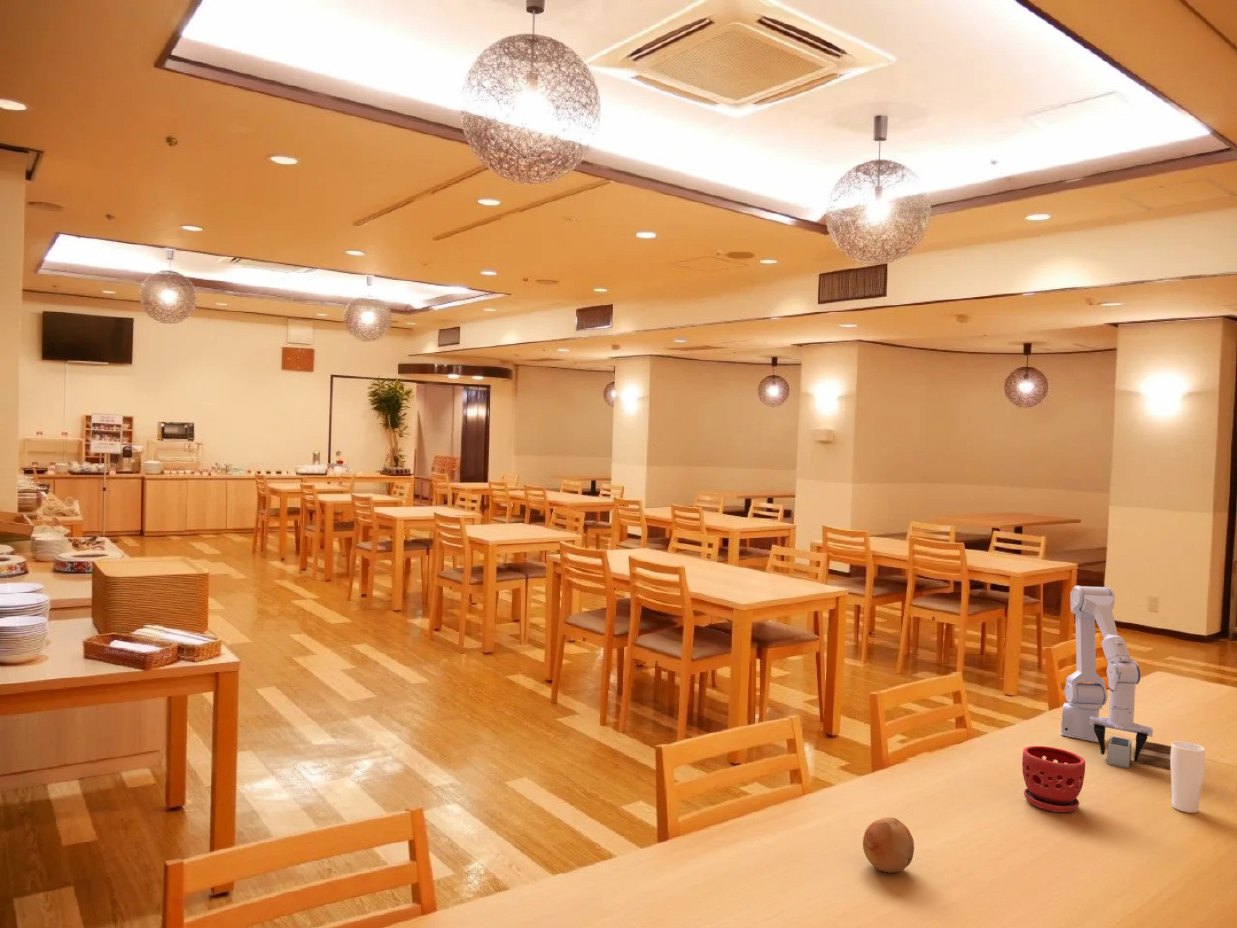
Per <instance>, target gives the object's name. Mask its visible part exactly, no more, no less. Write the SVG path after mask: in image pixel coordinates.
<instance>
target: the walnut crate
mask: <svg viewBox="0 0 1237 928" xmlns="http://www.w3.org/2000/svg"><path fill="white" fill-rule="evenodd" d="M1135 750H1136V748H1135ZM1135 750H1134V751H1135ZM1170 752H1171V745H1168V744H1163V743H1162V744H1161V743H1159V742H1158V743H1157V742H1153V741H1147V740H1146V742H1145V743H1144V745H1143V746H1142V748H1141V750H1140V753H1139V755H1138V760H1137V761H1135V762H1136V763H1142V764H1147V765H1152V766H1155V767H1156V766H1157V767H1160V768H1166V769H1170V770H1171V768H1170Z"/></svg>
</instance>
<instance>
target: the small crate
mask: <svg viewBox="0 0 1237 928" xmlns="http://www.w3.org/2000/svg"><path fill="white" fill-rule="evenodd" d="M1132 740H1133V739H1130V738H1125V737H1120V736H1114V735H1110V736H1109V739H1108V743H1107V755H1106V757H1107V758H1106V765H1110V766H1114V767H1117V768H1123V769H1130V765H1131V757H1132V743H1133V742H1132Z"/></svg>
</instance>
